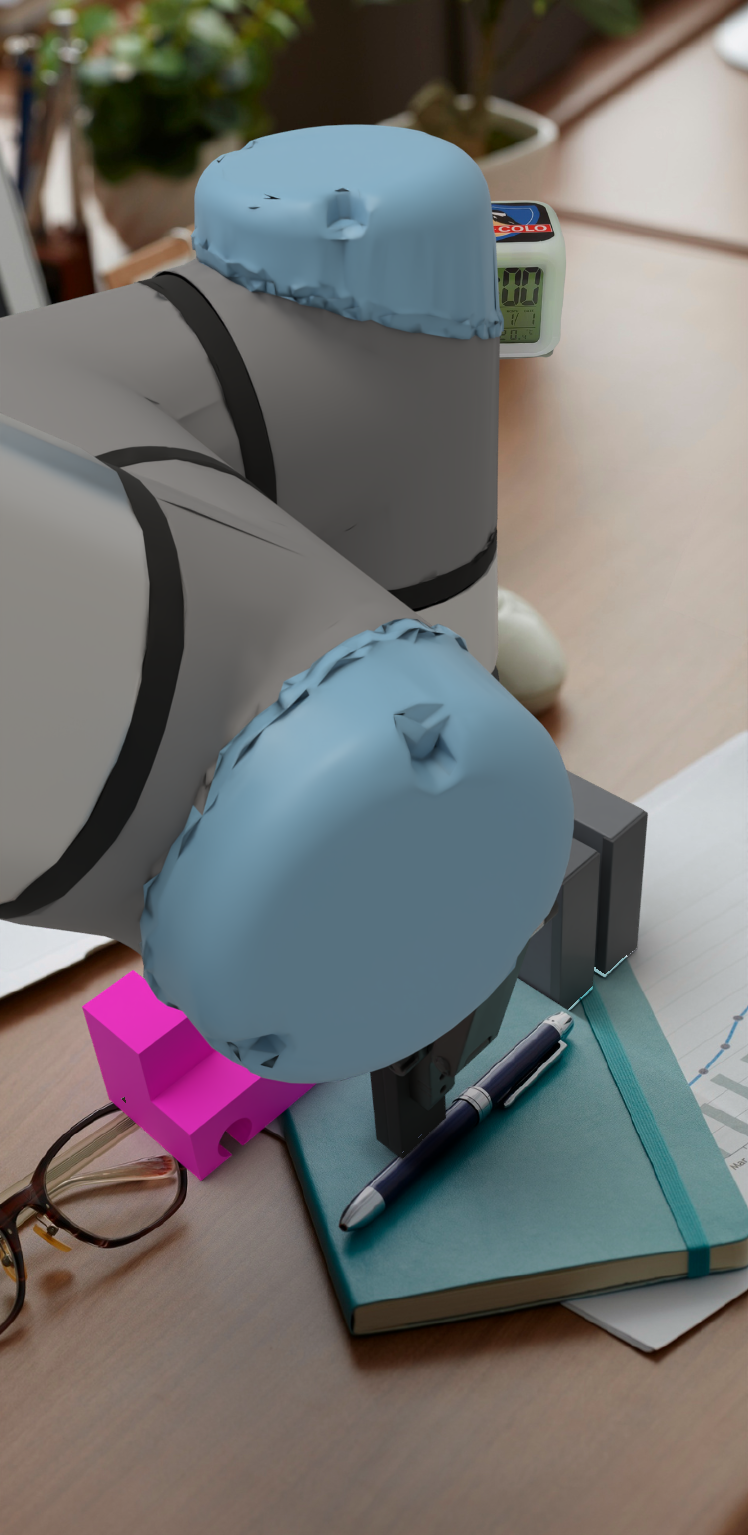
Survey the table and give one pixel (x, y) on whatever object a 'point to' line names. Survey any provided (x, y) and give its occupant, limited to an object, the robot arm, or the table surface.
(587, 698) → the table surface
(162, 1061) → the toy block
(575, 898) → the gray rectangular block
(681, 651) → the table surface
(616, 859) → the dark gray block
